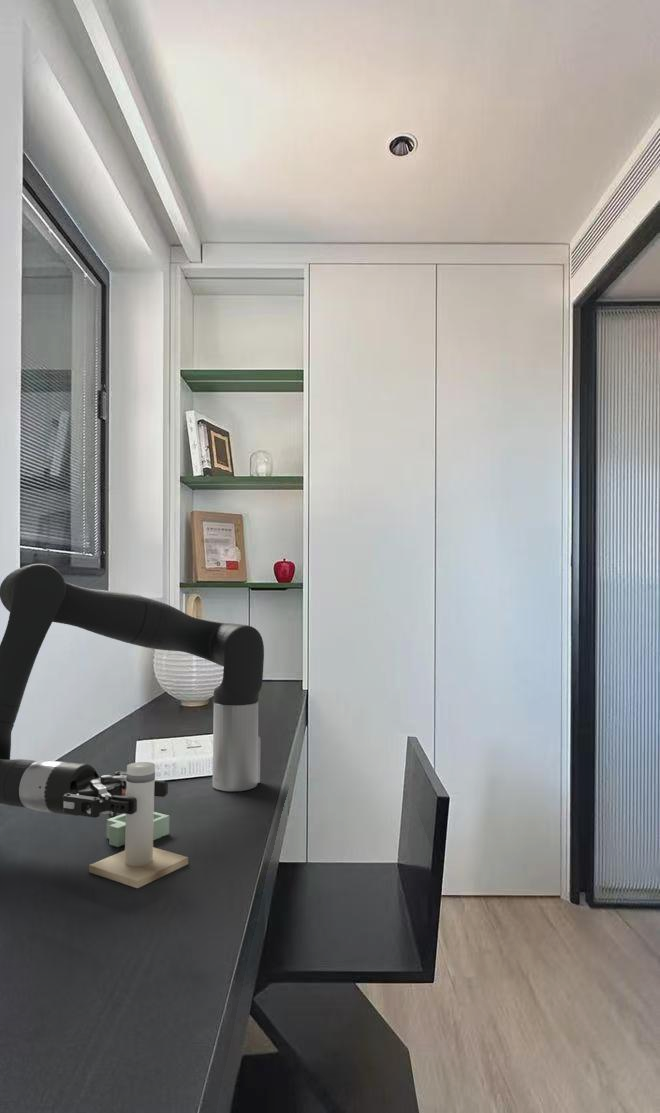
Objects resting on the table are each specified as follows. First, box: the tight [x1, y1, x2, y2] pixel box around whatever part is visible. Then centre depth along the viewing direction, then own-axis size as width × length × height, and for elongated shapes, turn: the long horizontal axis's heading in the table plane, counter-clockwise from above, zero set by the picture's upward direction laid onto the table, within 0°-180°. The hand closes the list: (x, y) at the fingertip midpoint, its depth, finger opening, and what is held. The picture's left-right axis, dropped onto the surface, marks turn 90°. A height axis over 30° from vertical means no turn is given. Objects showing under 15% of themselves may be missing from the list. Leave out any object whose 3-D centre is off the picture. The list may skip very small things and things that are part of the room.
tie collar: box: [105, 811, 170, 848], centre depth 117 cm, size 9×7×3 cm
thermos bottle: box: [124, 761, 156, 867], centre depth 105 cm, size 4×4×14 cm
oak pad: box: [88, 846, 189, 889], centre depth 105 cm, size 10×10×1 cm
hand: (151, 797), depth 104 cm, fingers open, 8 cm apart
